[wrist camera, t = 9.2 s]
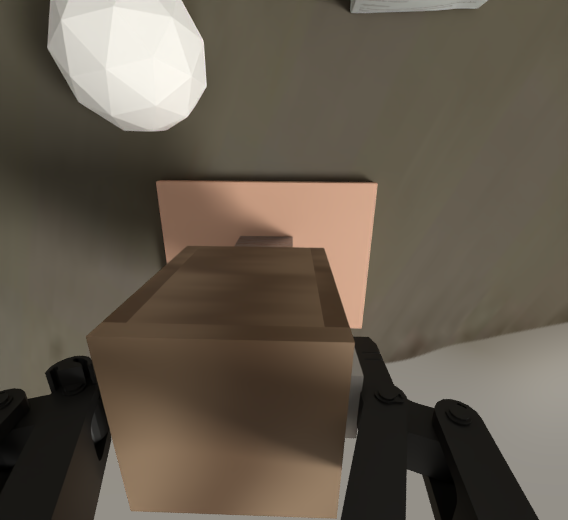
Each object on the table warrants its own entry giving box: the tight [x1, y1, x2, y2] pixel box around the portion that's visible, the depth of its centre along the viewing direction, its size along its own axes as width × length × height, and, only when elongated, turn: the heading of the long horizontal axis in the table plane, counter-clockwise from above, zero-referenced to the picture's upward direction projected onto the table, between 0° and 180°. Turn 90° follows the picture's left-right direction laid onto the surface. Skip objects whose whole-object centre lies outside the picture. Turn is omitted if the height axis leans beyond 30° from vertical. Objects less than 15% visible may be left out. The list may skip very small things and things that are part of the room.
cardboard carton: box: [86, 246, 355, 518], centre depth 13 cm, size 7×7×8 cm
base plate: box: [156, 180, 378, 328], centre depth 24 cm, size 16×12×1 cm
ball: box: [47, 0, 207, 131], centre depth 17 cm, size 8×8×8 cm
